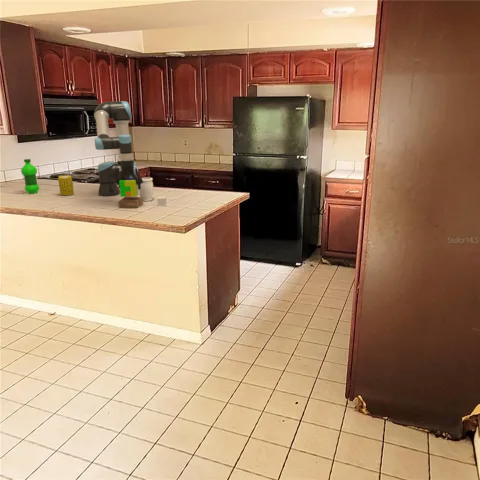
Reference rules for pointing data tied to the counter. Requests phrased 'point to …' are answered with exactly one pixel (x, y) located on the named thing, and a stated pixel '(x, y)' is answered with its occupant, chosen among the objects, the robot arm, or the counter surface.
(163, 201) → the beige wooden block
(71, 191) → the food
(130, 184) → the puzzle toy
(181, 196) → the counter surface
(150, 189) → the jar
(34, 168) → the plastic bottle
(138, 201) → the walnut block
